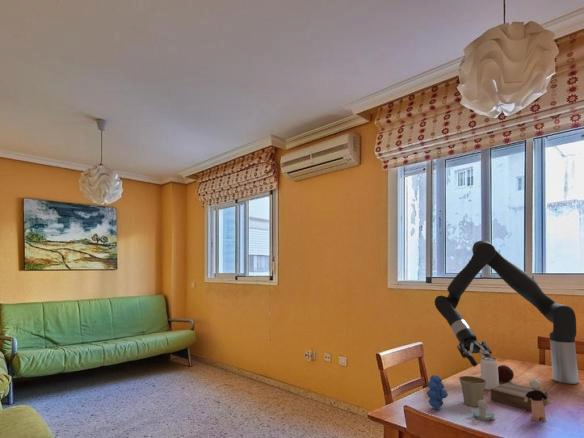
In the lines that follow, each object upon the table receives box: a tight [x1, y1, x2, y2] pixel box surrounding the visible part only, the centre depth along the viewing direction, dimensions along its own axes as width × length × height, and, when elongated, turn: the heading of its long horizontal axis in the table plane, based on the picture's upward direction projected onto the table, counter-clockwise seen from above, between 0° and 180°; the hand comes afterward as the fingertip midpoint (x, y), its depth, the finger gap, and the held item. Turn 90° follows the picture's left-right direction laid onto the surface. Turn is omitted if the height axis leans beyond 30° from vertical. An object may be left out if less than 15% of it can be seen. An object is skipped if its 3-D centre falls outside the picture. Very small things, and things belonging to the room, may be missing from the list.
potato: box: [498, 364, 515, 383], centre depth 169 cm, size 7×8×7 cm
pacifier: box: [470, 399, 496, 422], centre depth 128 cm, size 7×6×6 cm
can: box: [480, 356, 500, 391], centre depth 159 cm, size 6×6×12 cm
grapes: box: [426, 374, 449, 411], centre depth 135 cm, size 12×7×12 cm, turn 139°
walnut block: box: [489, 382, 548, 412], centre depth 143 cm, size 14×14×4 cm
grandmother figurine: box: [524, 378, 551, 422], centre depth 127 cm, size 8×4×13 cm, turn 92°
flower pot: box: [458, 375, 487, 407], centre depth 141 cm, size 9×9×9 cm
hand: (484, 364), depth 162 cm, fingers open, 8 cm apart
